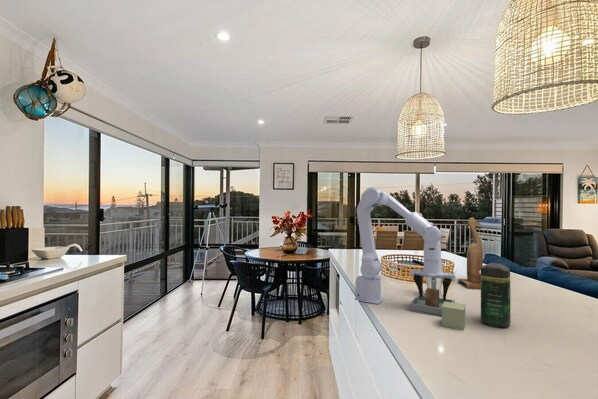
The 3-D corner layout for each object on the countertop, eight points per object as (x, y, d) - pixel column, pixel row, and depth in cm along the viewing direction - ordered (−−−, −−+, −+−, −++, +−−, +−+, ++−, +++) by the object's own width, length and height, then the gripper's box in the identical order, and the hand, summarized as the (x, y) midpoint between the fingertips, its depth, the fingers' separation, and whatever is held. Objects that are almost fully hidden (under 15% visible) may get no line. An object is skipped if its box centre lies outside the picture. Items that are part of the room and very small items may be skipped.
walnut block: (425, 307, 108) (425, 290, 108) (427, 304, 111) (427, 287, 111) (437, 309, 106) (437, 292, 106) (439, 306, 109) (439, 289, 109)
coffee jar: (509, 330, 90) (508, 267, 90) (478, 324, 95) (477, 264, 95) (512, 321, 97) (511, 263, 98) (483, 315, 102) (483, 260, 103)
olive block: (442, 326, 93) (441, 306, 94) (444, 319, 98) (444, 301, 99) (464, 330, 90) (463, 310, 90) (465, 323, 95) (465, 304, 95)
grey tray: (409, 310, 107) (409, 303, 107) (417, 301, 118) (417, 294, 118) (450, 318, 100) (450, 310, 100) (454, 307, 111) (454, 300, 111)
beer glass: (445, 299, 119) (445, 261, 119) (426, 298, 121) (426, 261, 121) (441, 294, 126) (440, 258, 126) (423, 293, 127) (422, 258, 128)
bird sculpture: (494, 290, 134) (495, 218, 135) (467, 289, 135) (468, 217, 135) (481, 284, 145) (482, 217, 146) (455, 283, 146) (457, 216, 147)
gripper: (408, 259, 110) (409, 297, 109) (453, 263, 102) (453, 304, 102) (413, 256, 116) (413, 292, 115) (455, 260, 108) (456, 299, 107)
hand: (432, 297), depth 109 cm, fingers open, 7 cm apart
